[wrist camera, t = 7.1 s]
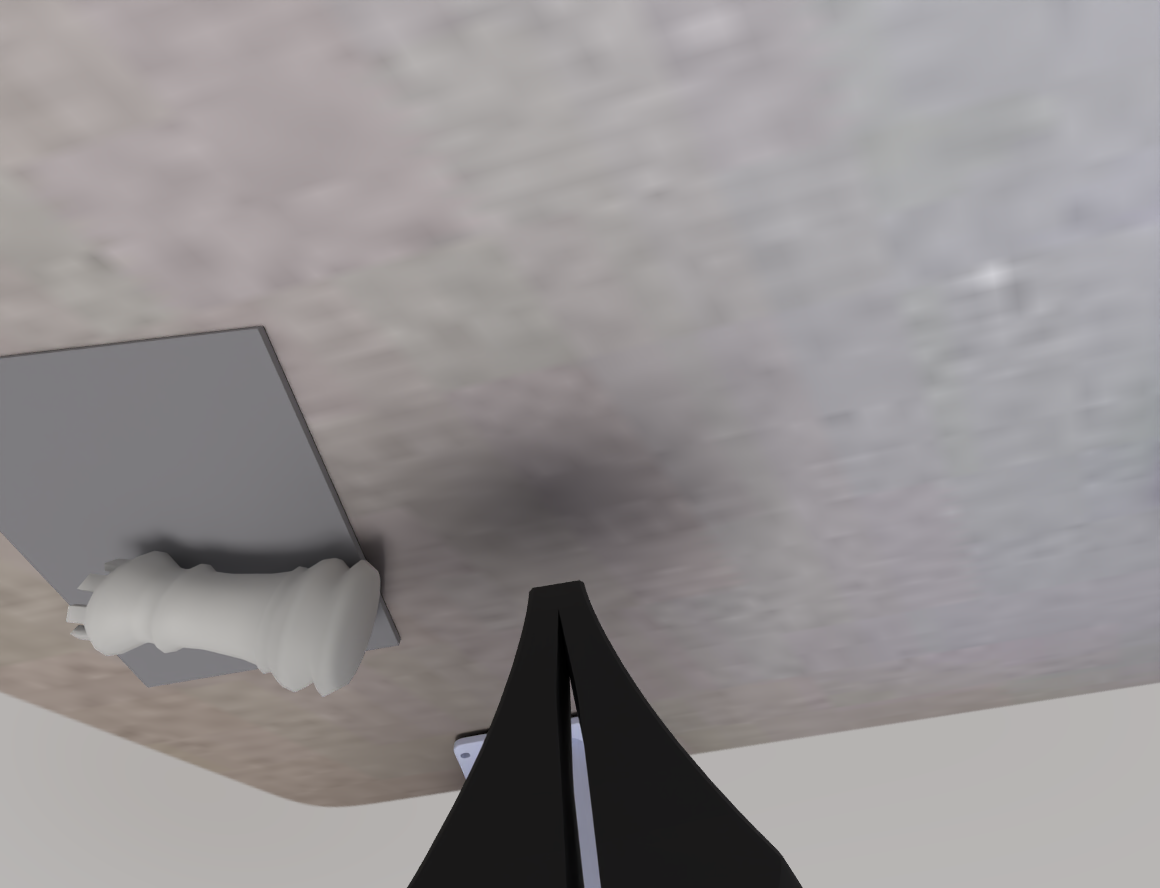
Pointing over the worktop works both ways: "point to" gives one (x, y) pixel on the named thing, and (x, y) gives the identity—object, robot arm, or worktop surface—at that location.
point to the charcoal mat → (166, 472)
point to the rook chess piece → (237, 615)
